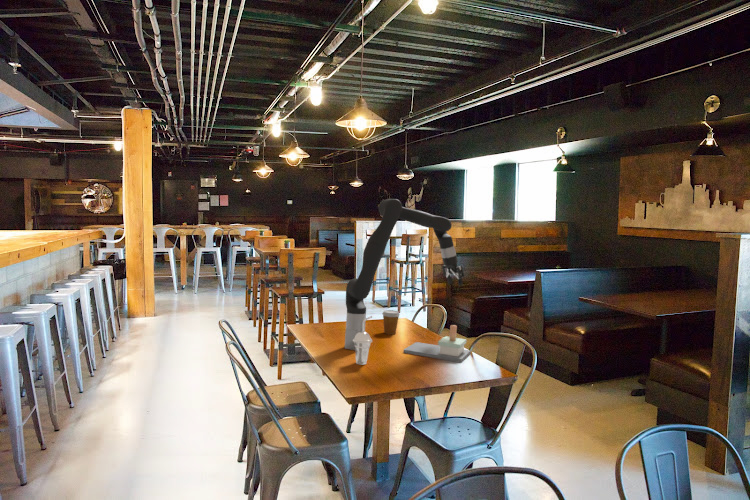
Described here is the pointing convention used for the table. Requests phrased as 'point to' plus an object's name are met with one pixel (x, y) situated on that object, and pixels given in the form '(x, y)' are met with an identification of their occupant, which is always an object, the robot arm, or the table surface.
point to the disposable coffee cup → (390, 321)
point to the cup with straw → (362, 345)
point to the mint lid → (452, 339)
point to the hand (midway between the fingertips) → (455, 284)
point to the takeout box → (451, 350)
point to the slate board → (434, 352)
